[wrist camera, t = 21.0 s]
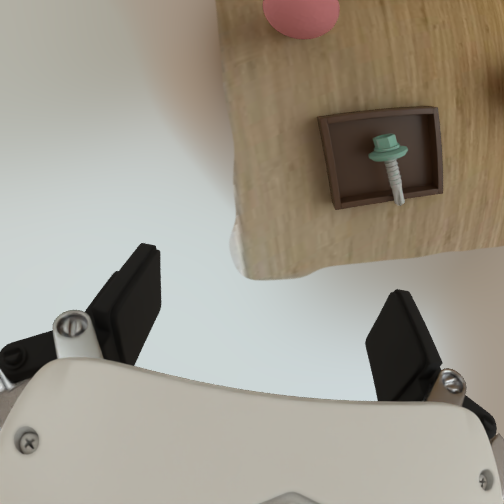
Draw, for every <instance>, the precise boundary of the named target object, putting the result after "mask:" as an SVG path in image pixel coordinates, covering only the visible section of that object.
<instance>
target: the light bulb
mask: <svg viewBox="0 0 504 504" xmlns="http://www.w3.org/2000/svg"><path fill="white" fill-rule="evenodd" d="M263 11H264V14H265V17H266V19H267V20H268V22H269V23H270V24H271V26H272V27H273V28H275V29H276V30H277V31H278V32H280V33H282V34H284V35H286V36H288V37H292V38H296V39H312V38H316V37H319V36H321V35H324V34H325V33H327V32H328V31H329V30H331V29H332V27H333V26H334V25H335V23H336V22H337V19H338V17H339V2H338V0H263Z"/></svg>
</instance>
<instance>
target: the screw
mask: <svg viewBox="0 0 504 504" xmlns="http://www.w3.org/2000/svg"><path fill="white" fill-rule="evenodd" d="M373 141H374V145H375V148H374V151H373V152H371V153H370V154H369V155H368V156H369V159H372V160H373V161H377V162H381V161H385V163H384V164H385V165H386V169H387V172H386V173H388V176H387V177H389V182H390V186H391V188H392V192H393V196H394V201H395V204H397V205H400V206H401V205H402V204H403V203H404V202H405V201H404V196H403V191H402V183H401V182H402V180H401V176H400V174H399V173H400V171H399V170H398V169H399V167H398V166H397V164H398V163H397V161H396V160H397V158H400V157H402V156H404V155H405V154H406V152H407V151H408V149H407V147H406V146H400V145H399V143H397V140H396V136H395V134H384V135H380V136H377V137H375V138H373Z"/></svg>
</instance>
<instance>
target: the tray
mask: <svg viewBox="0 0 504 504" xmlns="http://www.w3.org/2000/svg"><path fill="white" fill-rule="evenodd" d="M317 119H318V124H319V129H320V134H321V139H322V144H323V149H324V155H325V160H326V166H327V172H328V178H329V184H330V191H331V197H332V203H333V205H334V208H335V210H339V209H344V208H350V207H356V206H362V205H368V204H375V203H381V202H388V201H394V196H393V192H392V188H391V186H390V182H389V177H387V176H388V173H386V172H387V169H386V165H385V164H384V163H385V161H381V162H377V161H373V160H372V159H369V156H368V155H369V154H370V153H371V152H373V151H374V148H375V145H374V141H373V138H375V137H377V136H380V135H384V134H395V136H396V140H397V143H399V145H400V146H406V147H407V149H408V151H407V152H406V154H405V155H404V156H402V157H400V158H397V160H396V161H397V163H398V164H397V166H398V167H399V169H398V170H399V171H400V173H399V174H400V176H401V180H402V182H401V183H402V191H403V196H404V199H407V198H414V197H421V196H428V195H435V194H443V163H442V145H441V133H440V122H439V114H438V108H437V107H432V106H417V107H399V108H386V109H375V110H365V111H356V112H348V113H340V114H333V115H326V116H320V117H317Z"/></svg>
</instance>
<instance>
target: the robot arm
mask: <svg viewBox="0 0 504 504" xmlns="http://www.w3.org/2000/svg"><path fill="white" fill-rule="evenodd" d="M160 280H161V275H160V251H159V250H156V246H155V245H150V244H145V243H141V244H140V245H139V246H138V248H137V249H136V250H135V251H134V252H133V254H132V255H131V256H130V258H129V259H128V260H127V261H126V263H125V264H124V265H123V266H122V268H121V269H120V271H116V272H115V273H114V274H113V275H112V276H111V277H110V279H109V280H108V281H107V282H106V284H105V285H104V286H103V288H102V289H101V290H100V292H99V293H98V294H97V296H96V297H95V298H94V300H93V301H92V303H91V304H90V305H89V307H88V308H87V309H86V311H85V312H83V311H80V310H70V311H66V312H63V313H62V314H60V315H59V316H58V317H57V318H56V320H55V321H54V323H53V330H52V331H49V332H46V333H42V334H39V335H36V336H32V337H29V338H26V339H23V340H19V341H16V342H12V343H10V344H8V345H6V346H5V347H4V348H3V349H2V350H1V352H0V504H504V503H503V500H504V439H503V437H502V436H501V435H500V434H497V435H496V429H497V428H496V423H495V420H494V418H493V416H491V415H490V414H489V413H488V412H487V411H486V410H484V409H483V408H482V407H480V406H479V405H478V404H476V403H475V402H474V401H472V400H471V399H470V398H468V397H467V396H466V395H465V393H466V382H465V381H464V378H463V377H462V376H461V375H460V374H459V373H458V372H457V371H455V370H453V369H449V368H446V369H443V370H441V368H440V366H441V364H442V361H441V358H440V356H439V354H438V351H437V349H436V347H435V344H434V342H433V340H432V337H431V335H430V333H429V331H428V329H427V327H426V325H425V322H424V320H423V318H422V316H421V314H420V312H419V310H418V308H417V306H416V304H415V302H414V300H413V298H412V296H411V294H410V292H408V291H404V290H398V289H397V290H395V291H394V292H391V293H390V295H389V296H388V298H387V301H386V302H385V304H384V306H383V308H382V310H381V312H380V314H379V316H378V318H377V320H376V322H375V323H374V325H373V327H372V329H371V331H370V333H369V334H368V336H367V338H366V342H365V344H366V350H367V354H368V358H369V362H370V366H371V371H372V375H373V379H374V384H375V388H376V394H377V399H378V401H349V400H331V399H317V398H305V397H296V396H286V395H277V394H270V393H263V392H256V391H249V390H243V389H237V388H231V387H225V386H219V385H214V384H209V383H204V382H199V381H195V380H190V379H186V378H181V377H177V376H172V375H168V374H164V373H160V372H156V371H151V370H147V369H143V368H140V367H136V366H134V365H135V363H136V360H137V358H138V356H139V354H140V352H141V349H142V347H143V345H144V343H145V341H146V339H147V337H148V335H149V332H150V330H151V328H152V326H153V324H154V321H155V320H156V318H157V316H158V314H159V311H160V308H161V281H160Z"/></svg>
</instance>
